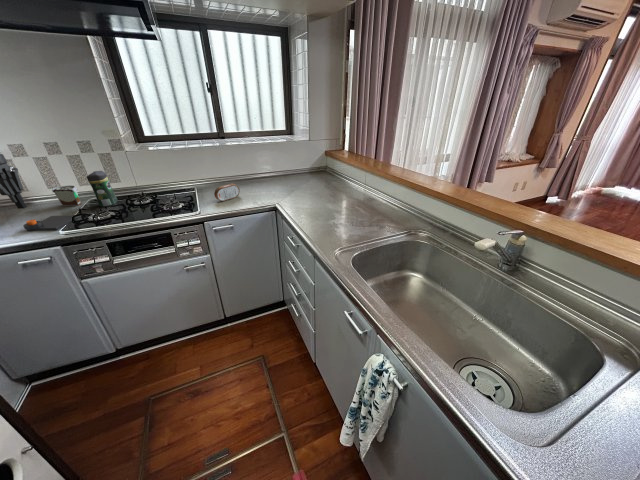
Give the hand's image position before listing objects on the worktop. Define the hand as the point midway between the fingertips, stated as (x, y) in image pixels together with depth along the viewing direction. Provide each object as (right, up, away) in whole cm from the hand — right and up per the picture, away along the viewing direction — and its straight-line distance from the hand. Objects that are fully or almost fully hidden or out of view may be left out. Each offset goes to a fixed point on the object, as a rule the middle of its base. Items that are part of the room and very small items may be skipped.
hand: (22, 207), depth 121 cm
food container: (-7, +6, +33) cm, 35 cm away
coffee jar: (+14, +6, +32) cm, 35 cm away
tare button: (0, -7, +4) cm, 8 cm away
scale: (+5, -7, +10) cm, 13 cm away
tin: (+82, +9, +36) cm, 90 cm away
